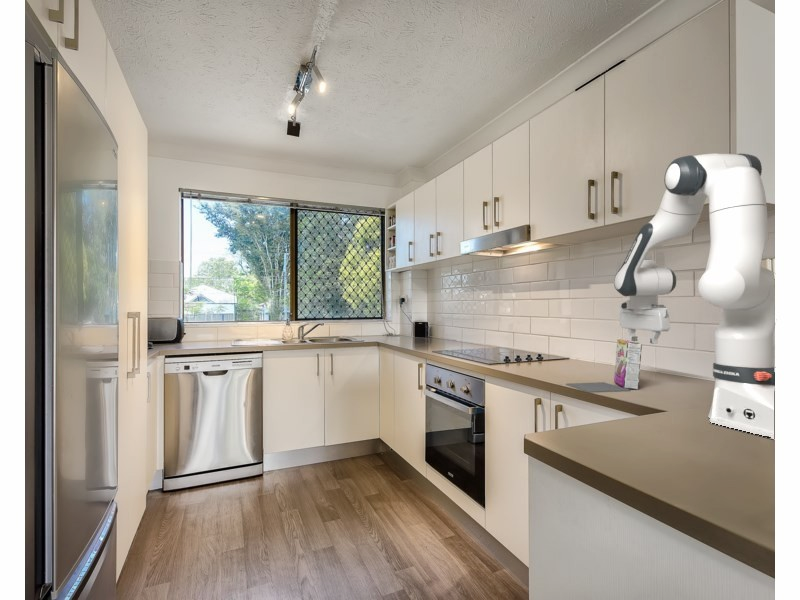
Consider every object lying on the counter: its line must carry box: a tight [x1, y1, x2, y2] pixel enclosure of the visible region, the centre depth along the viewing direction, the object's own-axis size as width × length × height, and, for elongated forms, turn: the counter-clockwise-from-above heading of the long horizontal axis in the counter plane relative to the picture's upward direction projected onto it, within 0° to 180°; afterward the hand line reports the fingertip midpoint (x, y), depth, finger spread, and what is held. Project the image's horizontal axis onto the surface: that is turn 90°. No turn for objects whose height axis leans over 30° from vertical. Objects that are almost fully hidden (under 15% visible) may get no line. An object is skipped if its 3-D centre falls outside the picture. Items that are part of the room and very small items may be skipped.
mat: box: [565, 381, 632, 393], centre depth 141 cm, size 14×16×1 cm
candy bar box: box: [613, 338, 643, 390], centre depth 142 cm, size 11×5×16 cm, turn 168°
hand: (643, 342), depth 144 cm, fingers open, 8 cm apart
